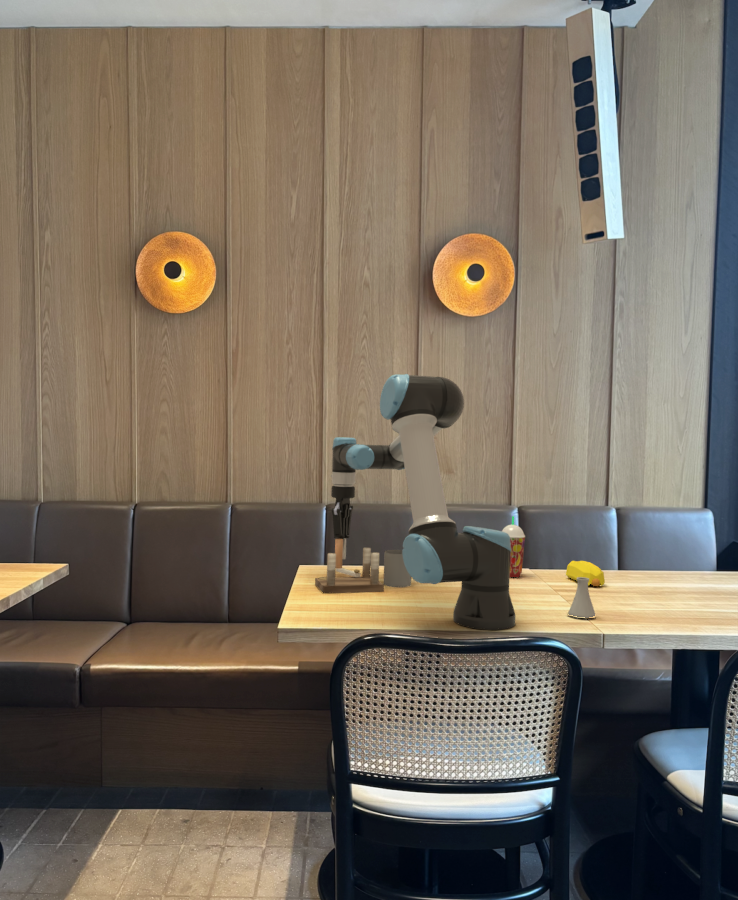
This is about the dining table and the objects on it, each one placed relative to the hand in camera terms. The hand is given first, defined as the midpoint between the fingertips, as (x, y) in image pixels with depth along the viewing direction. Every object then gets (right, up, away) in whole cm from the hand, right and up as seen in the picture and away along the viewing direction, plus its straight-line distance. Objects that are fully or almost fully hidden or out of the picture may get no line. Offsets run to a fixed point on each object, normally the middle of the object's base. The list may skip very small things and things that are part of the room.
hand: (340, 558), depth 223 cm
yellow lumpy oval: (+79, -8, +1) cm, 79 cm away
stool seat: (+3, -6, -18) cm, 19 cm away
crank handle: (+2, -3, -8) cm, 9 cm away
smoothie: (+56, -7, +7) cm, 57 cm away
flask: (+64, -9, -43) cm, 78 cm away
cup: (+18, -7, -11) cm, 22 cm away
